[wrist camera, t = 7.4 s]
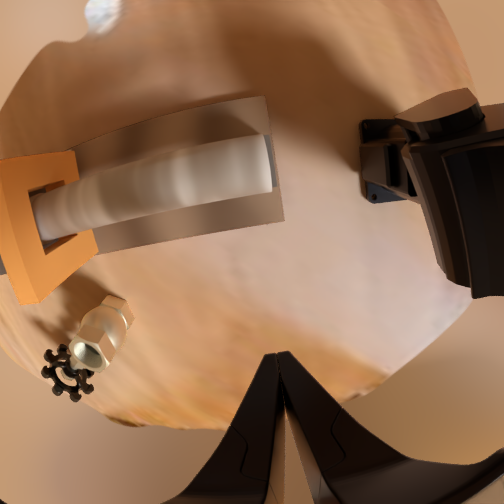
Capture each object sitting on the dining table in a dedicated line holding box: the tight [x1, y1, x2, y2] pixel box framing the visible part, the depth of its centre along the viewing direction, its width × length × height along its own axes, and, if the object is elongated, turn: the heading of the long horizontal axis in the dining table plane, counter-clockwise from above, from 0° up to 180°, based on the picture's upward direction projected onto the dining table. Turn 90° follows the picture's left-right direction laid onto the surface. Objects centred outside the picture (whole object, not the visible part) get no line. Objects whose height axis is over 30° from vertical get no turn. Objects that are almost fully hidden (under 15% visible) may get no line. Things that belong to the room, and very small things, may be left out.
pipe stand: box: [0, 95, 285, 275], centre depth 16 cm, size 20×9×8 cm, turn 99°
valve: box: [41, 295, 135, 402], centre depth 21 cm, size 7×7×12 cm
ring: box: [0, 151, 99, 305], centre depth 14 cm, size 2×8×8 cm, turn 9°
